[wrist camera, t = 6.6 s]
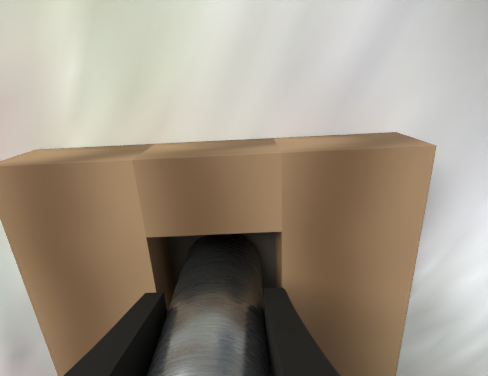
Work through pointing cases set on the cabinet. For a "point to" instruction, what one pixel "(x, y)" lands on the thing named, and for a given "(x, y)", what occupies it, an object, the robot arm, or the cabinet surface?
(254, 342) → the dowel bit
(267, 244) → the socket block
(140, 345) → the robot arm
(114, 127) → the cabinet surface
